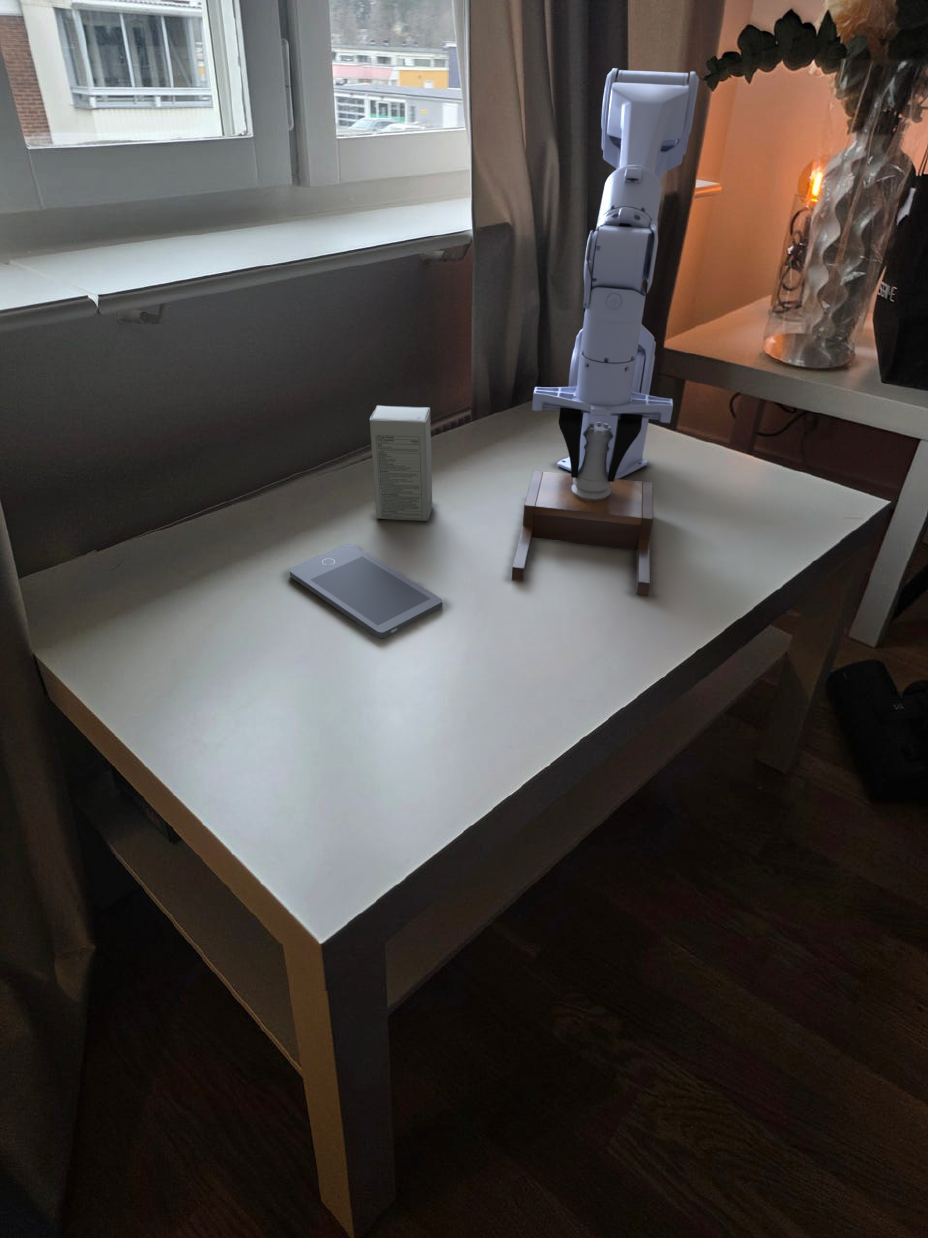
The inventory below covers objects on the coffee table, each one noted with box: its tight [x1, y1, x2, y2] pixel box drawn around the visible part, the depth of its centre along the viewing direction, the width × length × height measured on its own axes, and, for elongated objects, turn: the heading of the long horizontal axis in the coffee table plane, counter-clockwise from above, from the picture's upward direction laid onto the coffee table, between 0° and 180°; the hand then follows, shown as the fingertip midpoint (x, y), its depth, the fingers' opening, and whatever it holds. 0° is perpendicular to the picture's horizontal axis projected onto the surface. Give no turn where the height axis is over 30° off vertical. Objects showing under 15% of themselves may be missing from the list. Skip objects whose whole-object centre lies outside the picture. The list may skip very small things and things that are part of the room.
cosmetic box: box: [369, 405, 433, 522], centre depth 95 cm, size 6×4×12 cm
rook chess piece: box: [572, 422, 613, 501], centre depth 92 cm, size 4×4×8 cm
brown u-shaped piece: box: [511, 470, 654, 596], centre depth 92 cm, size 18×14×4 cm
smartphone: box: [289, 543, 443, 639], centre depth 84 cm, size 15×8×1 cm, turn 44°
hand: (592, 475), depth 93 cm, fingers closed on rook chess piece, 3 cm apart
